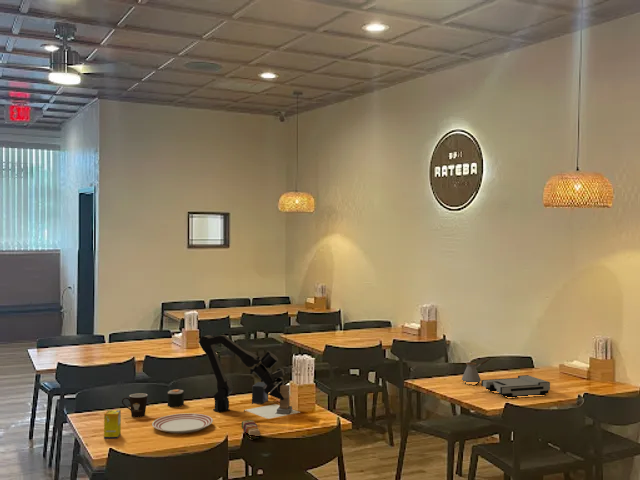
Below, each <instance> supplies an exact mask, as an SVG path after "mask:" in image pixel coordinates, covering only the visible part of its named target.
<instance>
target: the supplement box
mask: <svg viewBox="0 0 640 480" xmlns="http://www.w3.org/2000/svg"><path fill="white" fill-rule="evenodd" d="M121 411H122V410H120V409H119V410H118V409H117V410H116V409H115V410H113V409H111V410H107V411H106V412H104V414H103V415H104V416H103V417H104V419H103V423H104V424H103V427H104V429H103V434H104V435H103V439H104V440H107V439H108V440H113V439H114V440H115V439H118V438H119V437H120V436H121V431H122V429H121V426H122V425H121V421H122V418H121V417H122V413H121Z"/></svg>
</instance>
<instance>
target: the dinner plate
mask: <svg viewBox="0 0 640 480" xmlns="http://www.w3.org/2000/svg"><path fill="white" fill-rule="evenodd" d="M213 422H214V420H213V418H212V417H211V416H209V415H208V414H204V413H203V414H202V413H194V412H193V413H190V412H189V413H186V412H184V413H175V414H169V415H164V416H161V417H158V418H156V419H155V420H154V421H153V422H152V423H151V425H152V427H153V428H154V429H156V430H158V431H162V432H167V433H169V434H188V433H190V434H191V433H194V432H198V431H200V430H203V429H205V428H207V427H208V426H210V425H211V424H212V423H213Z"/></svg>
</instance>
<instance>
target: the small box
mask: <svg viewBox="0 0 640 480" xmlns="http://www.w3.org/2000/svg"><path fill="white" fill-rule="evenodd" d="M266 386H267V385H266V384H265V383H264V382H261V381H257V382H255V384H253V385H252V387H251V389H252V390H251V405H253V404H257V405H258V404H260V405H263V404H265V403H266V402H268V401H269V395H268V394H269V393H268V394H266V393H265V392H264V389H265V388H266Z"/></svg>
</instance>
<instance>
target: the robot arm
mask: <svg viewBox="0 0 640 480" xmlns="http://www.w3.org/2000/svg"><path fill="white" fill-rule="evenodd" d="M218 344H221V345H222V346H224V347H225V348H226V349H228V350H230V351H231V352H232V353H233V354H235V355H236V356H238V357H239V359H240V360H241V362H242V363H243V364H244V365H245V366H246V367H247V368H250V369H249V372H250V373H249V374H250V375H252V374H255V375H256V376H257V377H258V378H259V379H260V382H264V383H265V384H266V385H267V386H266V388H265V389H264V392H265V393H266V394H268V396H271V397H273V398H276V399H279V400H280V399H281V400H284V398H283V396H282V395H281V393H280V386H281V385H284V381H285V380H284V376H285V375H286V374H285V369H284V368H281V367H278V368H276V371H274V372H273V371H269V369H271V368H273V366H274V365H275V364H276V363H277V362H279V358H278V357H277V355H275V354H274V353H272V352H271V351H267V352H266V354H264V356H258V355H257V354H255V353H254V352H251V351H249V350H246V349H244V348H242V347H241V346H240V345H239V344H237V343H236V342H235V341H233V340H232V339H231V338H229V337H228V336H227V335H226V334H221V335H220V334H219V335H210V334H209V335H208V334H207V335H204V336H203V337H201V338H200V340H199V346H200V347H201V350H202V351H203V352H204V353H205V354H206V355H207V358H208V361H209V363H210V366H211V369H212V371H213V375H214V376H215V379H216V389H217V392H216V393H215V394H214V395H213V399H214V408H212V411H215V412H217V413H224V412H229V411H230V410H231V409H230V400H229V397H230V395H231V393H232V392H233V391H234V389H233V387H234V384H233V382H232V379H231V378H227V377H226V376H225V375H226V374H225V373H224V370H223V369H224V368H223V366H222V365H221V362H220V359H219V356H218V354H217V351H216V345H218Z"/></svg>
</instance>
